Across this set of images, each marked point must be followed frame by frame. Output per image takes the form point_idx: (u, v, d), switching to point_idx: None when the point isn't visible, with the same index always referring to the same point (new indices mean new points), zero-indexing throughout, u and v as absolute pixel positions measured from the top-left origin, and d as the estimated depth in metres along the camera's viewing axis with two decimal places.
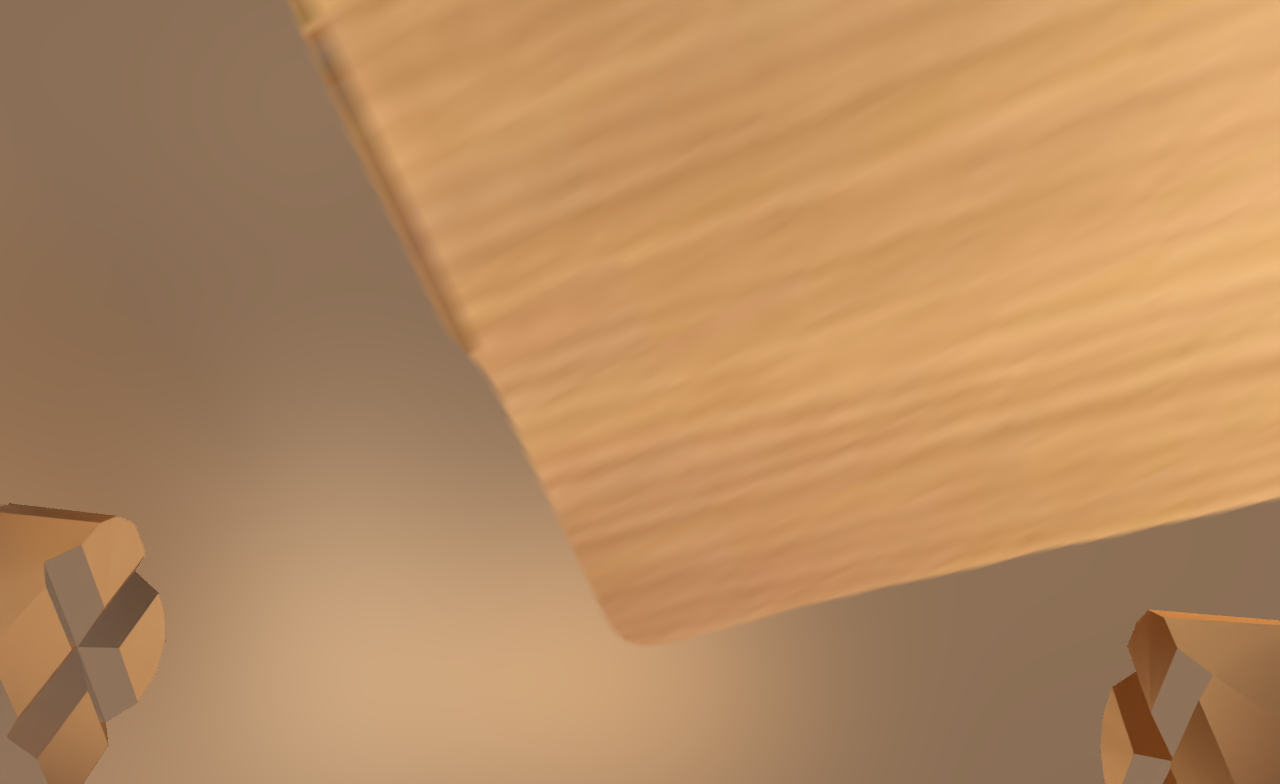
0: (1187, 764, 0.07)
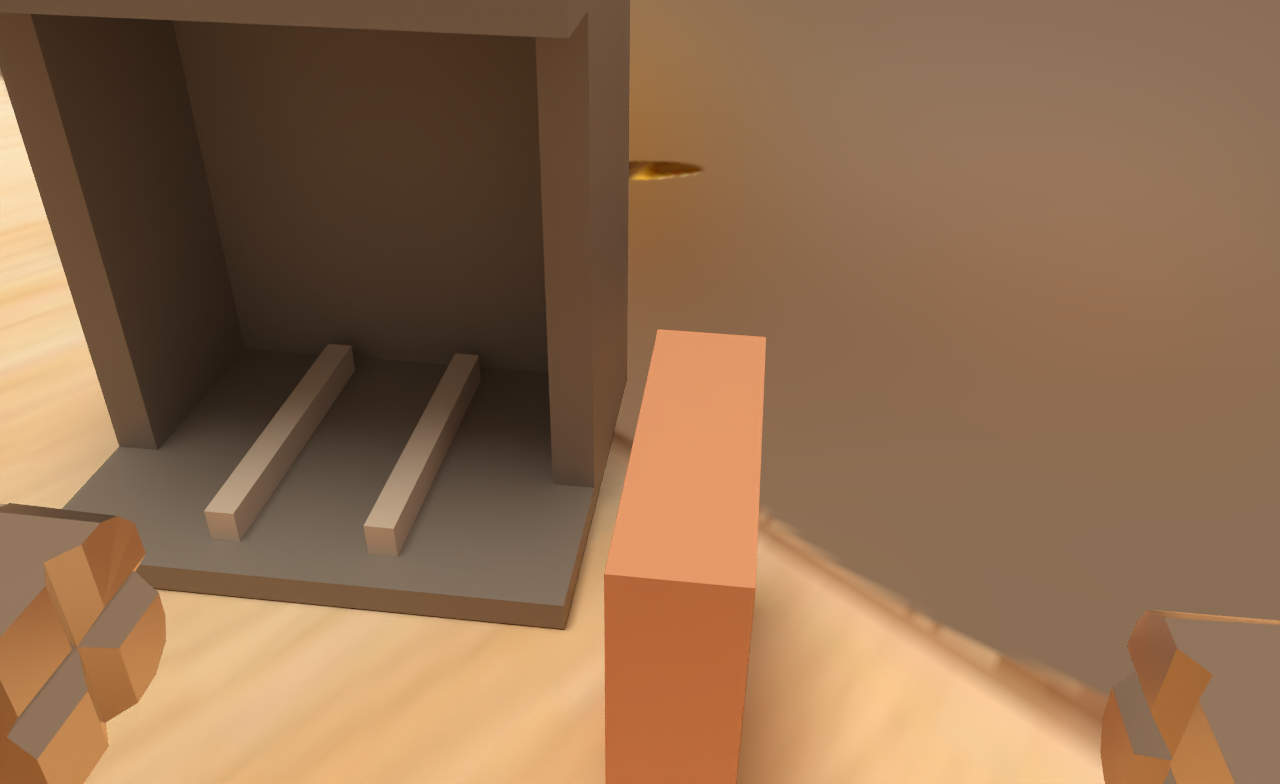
0: (1186, 765, 0.07)
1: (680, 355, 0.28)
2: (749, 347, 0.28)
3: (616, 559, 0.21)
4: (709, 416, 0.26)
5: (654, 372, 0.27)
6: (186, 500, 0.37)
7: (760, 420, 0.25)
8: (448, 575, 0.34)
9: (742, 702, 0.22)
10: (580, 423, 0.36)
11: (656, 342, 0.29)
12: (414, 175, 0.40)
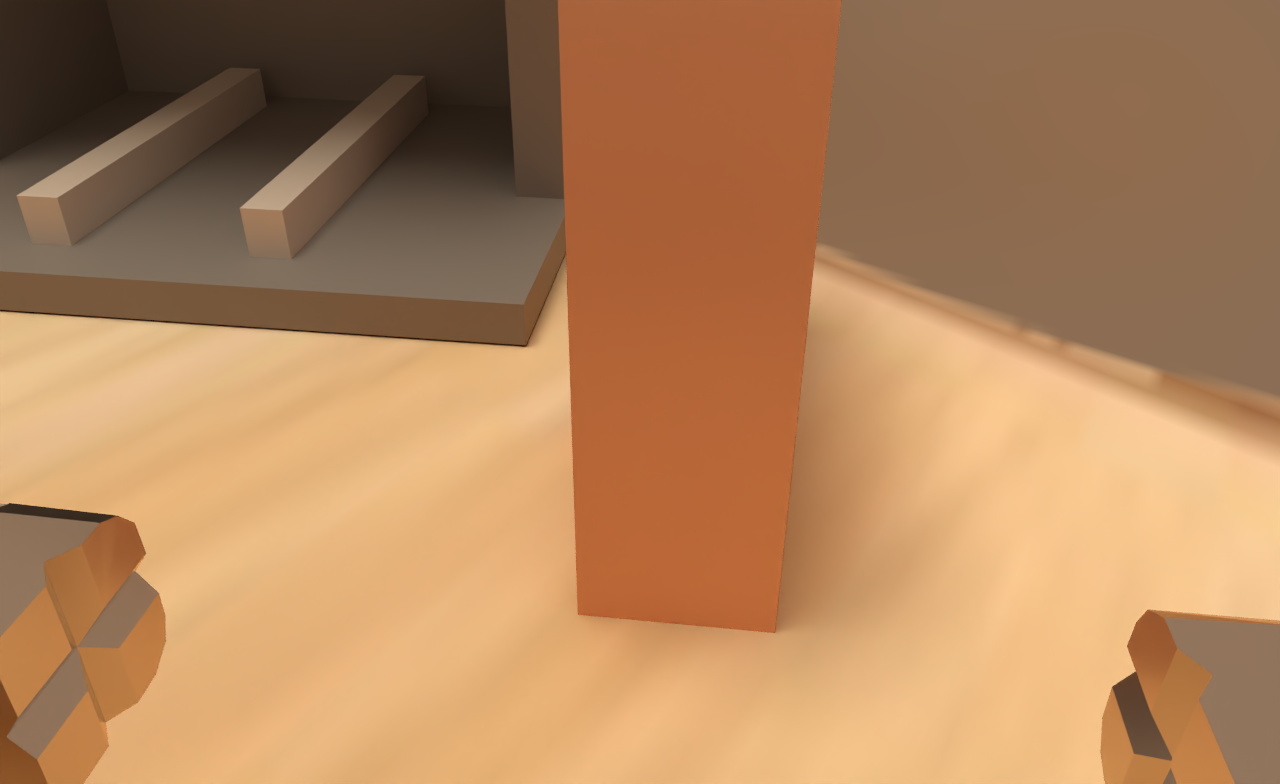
0: (1185, 764, 0.07)
1: None
2: None
3: None
4: None
5: None
6: (9, 209, 0.27)
7: None
8: (360, 276, 0.23)
9: (815, 217, 0.12)
10: (551, 93, 0.26)
11: None
12: None
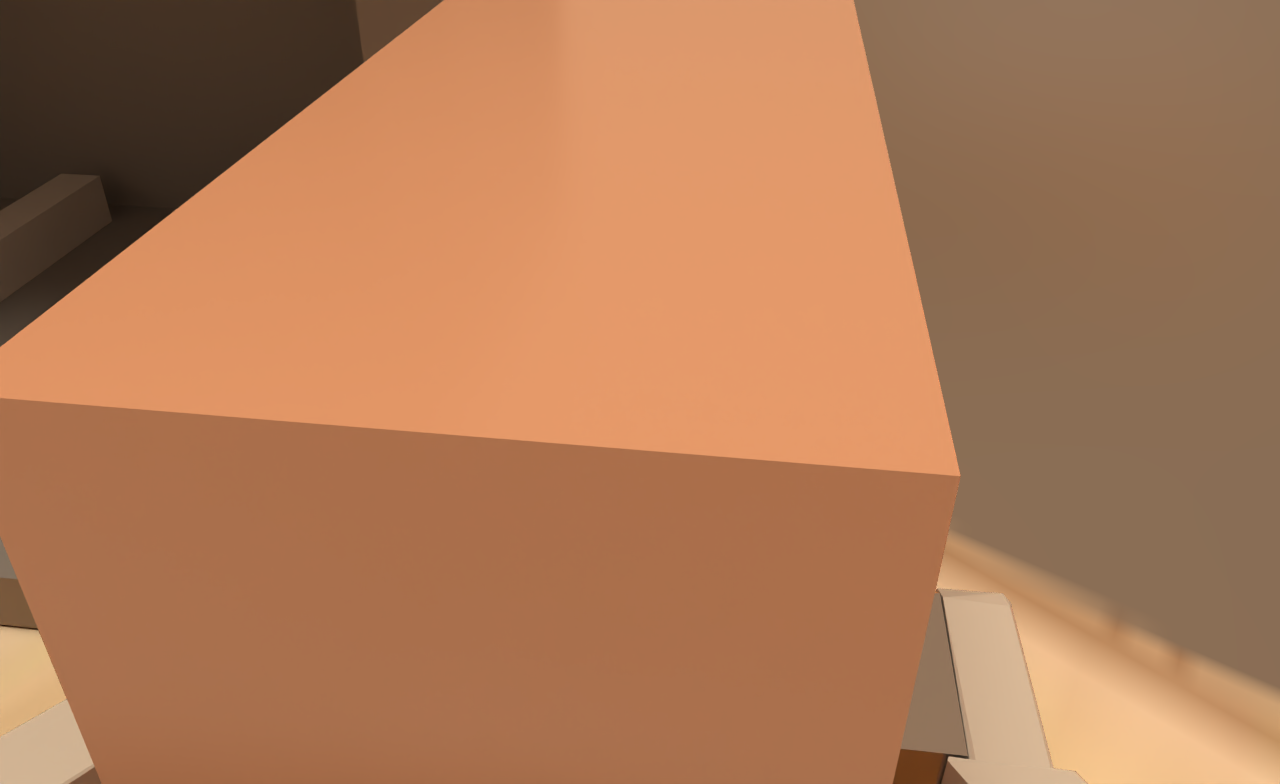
0: None
1: None
2: None
3: (83, 324, 0.04)
4: None
5: None
6: None
7: (847, 2, 0.08)
8: None
9: None
10: None
11: None
12: None
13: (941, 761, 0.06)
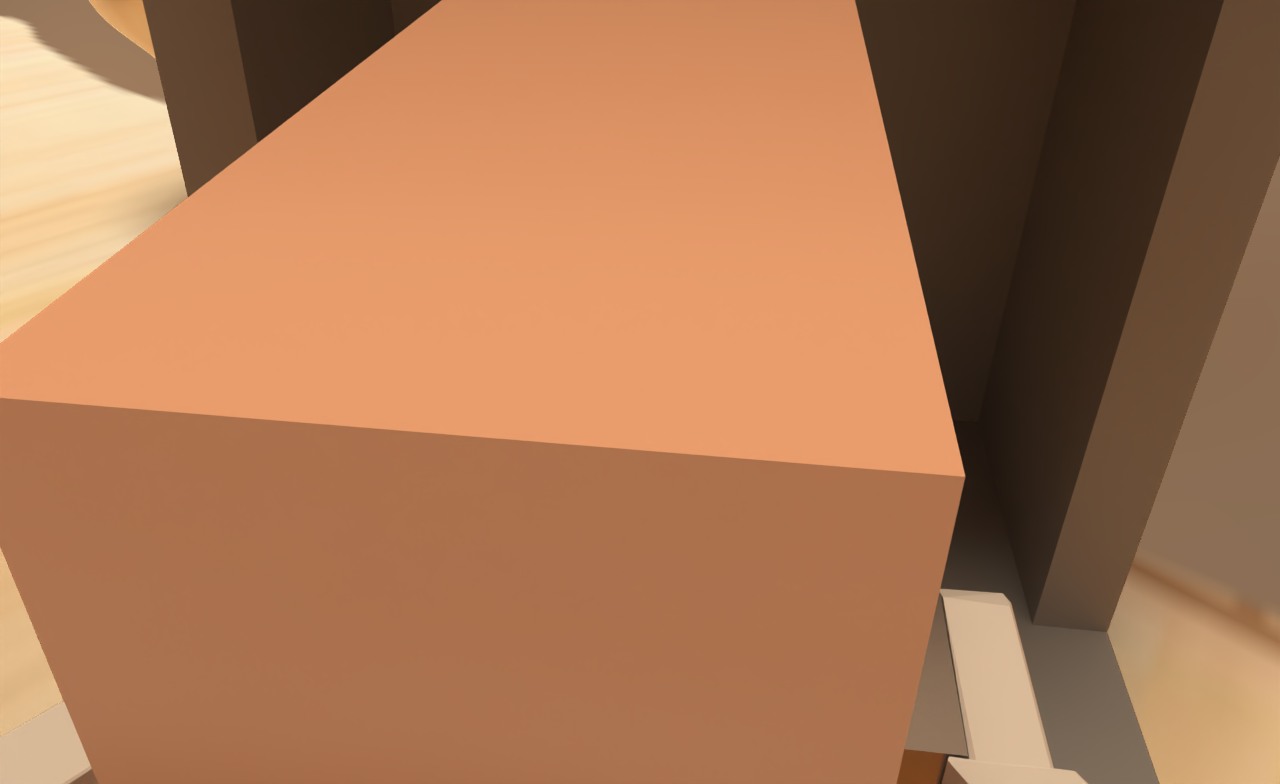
0: None
1: None
2: None
3: (80, 323, 0.03)
4: None
5: None
6: None
7: (848, 0, 0.08)
8: None
9: None
10: (1120, 527, 0.20)
11: None
12: None
13: (941, 762, 0.06)
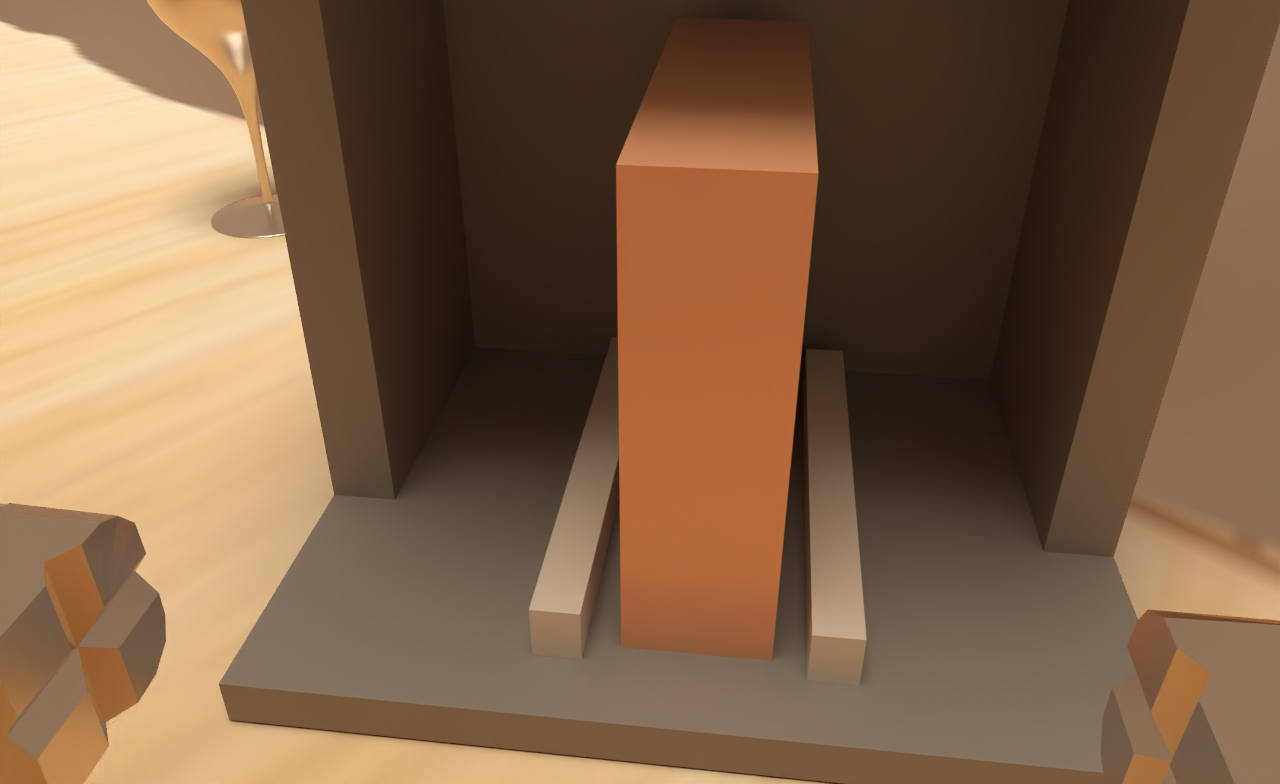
0: (1185, 764, 0.07)
1: (705, 31, 0.23)
2: (789, 26, 0.23)
3: (631, 154, 0.16)
4: (744, 66, 0.20)
5: (674, 41, 0.22)
6: (467, 584, 0.22)
7: (808, 68, 0.20)
8: (965, 722, 0.19)
9: (797, 367, 0.17)
10: (1122, 453, 0.22)
11: (675, 24, 0.23)
12: None
13: None
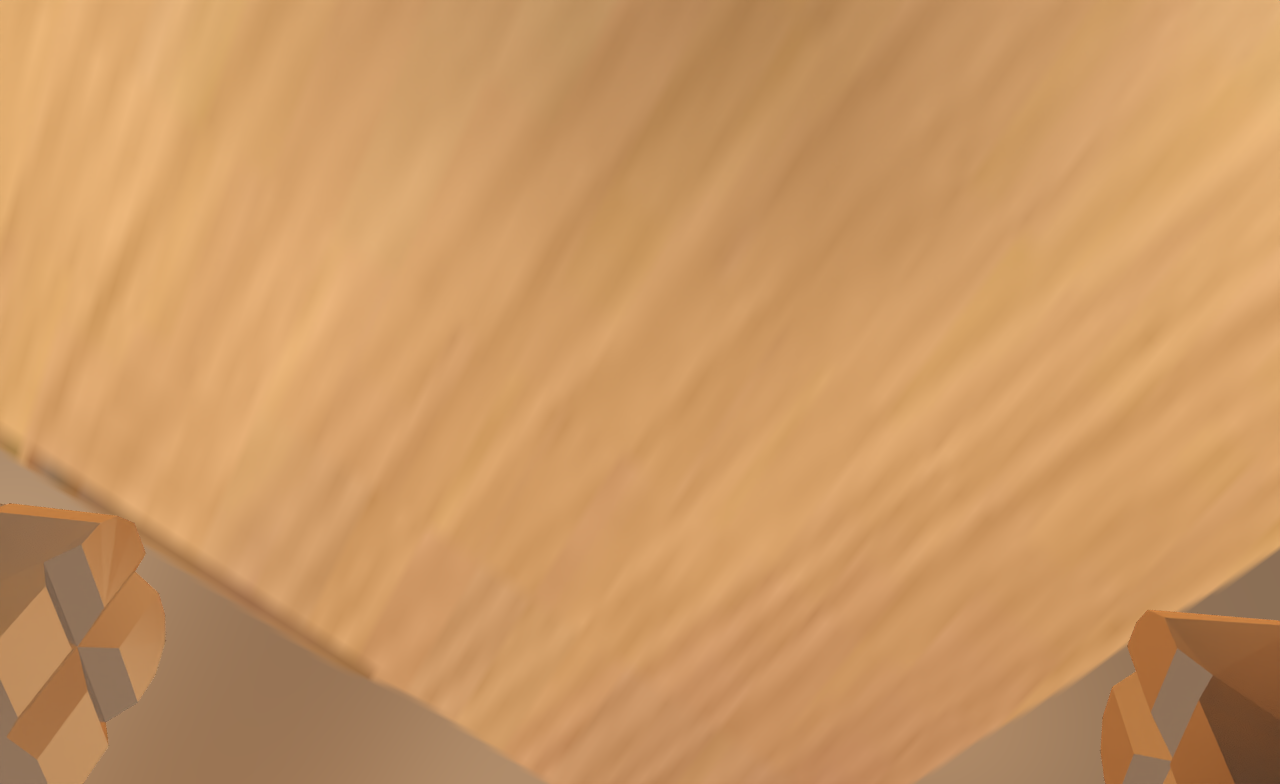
0: (1187, 764, 0.07)
1: None
2: None
3: None
4: None
5: None
6: None
7: None
8: None
9: None
10: None
11: None
12: None
13: None
